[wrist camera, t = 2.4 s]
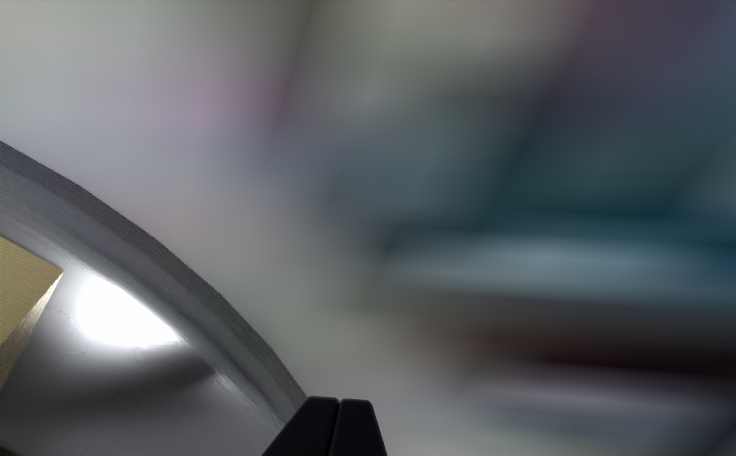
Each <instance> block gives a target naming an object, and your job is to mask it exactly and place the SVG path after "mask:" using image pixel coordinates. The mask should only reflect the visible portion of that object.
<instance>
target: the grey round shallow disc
mask: <svg viewBox="0 0 736 456" xmlns="http://www.w3.org/2000/svg"><path fill="white" fill-rule="evenodd" d="M0 236H1V237H3V238H5V239H6V240H8V241H10V242H12V243H14V244H15V245H17V246H19V247H21V248H23V249H25V250H26V251H28V252H30V253H32V254H34V255H35V256H37V257H39V258H41V259H43V260H45V261H46V262H48V263H50V264H52V265H54V266H55V267H57V268H59V269H61V270H63V271H64V272H63V274H62V276H61V278H60V280H59V282H58V283H57V285H56V287H55V289H54V291H53V293H52V295H51V297H50V299H49V300H48V302H47V304H46V306H45V308H44V310H43V312H42V314H41V316H40V317H39V319H38V321H37V323H36V325H35V327H34V329H33V331H32V333H31V334H30V336H29V338H28V340H27V342H26V344H25V346H24V348H23V350H22V351H21V353H20V355H19V357H18V359H17V361H16V363H15V365H14V367H13V368H12V370H11V372H10V374H9V376H8V378H7V380H6V382H5V384H4V385H3V387H2V389H1V391H0V456H261V455H262V454H263V452H264V451H265V450H266V449H267V447H268V446H269V445H270V444H271V442H272V441H273V440H274V439H275V437H276V436H277V435H278V434H279V432H280V431H281V430H282V429H283V427H284V426H285V425H286V424H287V422H288V421H289V420H290V419H291V417H292V416H293V415H294V413H295V412H296V411H297V410H298V408H299V407H300V406H301V405H302V403H303V402H304V401H305V400H306V399H307V396H306V395H305V394H304V392H303V391H302V390H301V388H300V387H299V385H298V384H297V383H296V381H295V380H294V379H293V377H292V376H291V375H290V373H289V372H288V370H287V369H286V368H285V366H284V365H283V364H282V362H281V361H280V360H279V358H278V357H277V355H276V354H275V353H274V351H273V350H272V349H271V348H270V346H269V345H268V344H267V343H266V342H265V341H264V340H263V339H262V338H261V337H260V336H259V335H258V334H257V333H256V332H255V331H254V329H253V328H252V327H251V326H250V325H249V324H248V323H247V322H246V321H245V320H244V319H243V318H242V317H241V316H240V315H239V314H238V312H237V311H236V310H235V309H234V308H233V307H232V306H231V305H230V304H229V303H228V302H227V301H226V300H225V299H224V298H223V297H222V295H221V294H219V293H218V292H217V291H216V290H215V289H214V288H212V287H211V286H210V285H209V284H208V283H207V282H205V281H204V280H203V279H202V278H201V277H200V276H198V275H197V274H196V273H195V272H194V271H193V270H191V269H190V268H189V267H188V266H187V265H186V264H184V263H183V262H182V261H181V260H180V259H179V258H177V257H176V256H175V255H174V254H173V253H172V252H170V251H169V250H168V249H167V248H166V247H165V246H163V245H162V244H161V243H160V242H159V241H158V240H156V239H155V238H154V237H152V236H151V235H149V234H148V233H146V232H145V231H144V230H142V229H141V228H139V227H138V226H136V225H135V224H133V223H132V222H131V221H129V220H128V219H126V218H125V217H123V216H122V215H121V214H119V213H118V212H116V211H115V210H113V209H112V208H111V207H109V206H108V205H106V204H105V203H103V202H102V201H101V200H99V199H98V198H96V197H95V196H93V195H92V194H91V193H89V192H88V191H86V190H85V189H83V188H82V187H80V186H79V185H77V184H75V183H74V182H72V181H70V180H68V179H67V178H65V177H63V176H61V175H59V174H58V173H56V172H54V171H52V170H51V169H49V168H47V167H45V166H44V165H42V164H40V163H38V162H37V161H35V160H33V159H31V158H29V157H28V156H26V155H24V154H22V153H21V152H19V151H17V150H15V149H14V148H12V147H10V146H8V145H7V144H5V143H3V142H1V141H0Z"/></svg>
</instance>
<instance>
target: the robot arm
mask: <svg viewBox="0 0 736 456" xmlns="http://www.w3.org/2000/svg"><path fill="white" fill-rule="evenodd" d="M261 456H387V452H386V449H385V446H384V442H383V439H382V436H381V432H380V429H379V426H378V422H377V419H376V416H375V412H374V409H373V406H372V404H371V402H370V401H368V400H359V399H342V400H341V401H340V403H339V400H338V399H336V398H333V397H320V396H311V397H308V398H307V399H306V400H305V401H304V402H303V403H302V405H301V406H300V407H299V408H298V410H297V411H296V412H295V413H294V415H293V416H292V417H291V419H290V420H289V421H288V422H287V424H286V425H285V426H284V427H283V429H282V430H281V431H280V432H279V434H278V435H277V436H276V437H275V439H274V440H273V441H272V442H271V444H270V445H269V446H268V447H267V449H266V450H265V451H264V452H263V454H262V455H261Z"/></svg>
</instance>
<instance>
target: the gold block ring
mask: <svg viewBox="0 0 736 456" xmlns="http://www.w3.org/2000/svg"><path fill="white" fill-rule="evenodd" d="M63 272H64V271H63V270H61V269H59V268H57V267H55V266H54V265H52V264H50V263H48V262H46V261H45V260H43V259H41V258H39V257H37V256H35V255H34V254H32V253H30V252H28V251H26V250H25V249H23V248H21V247H19V246H17V245H15V244H14V243H12V242H10V241H8V240H6V239H5V238H3V237H1V236H0V391H1V389H2V387H3V385H4V384H5V382H6V380H7V378H8V376H9V374H10V372H11V370H12V368H13V367H14V365H15V363H16V361H17V359H18V357H19V355H20V353H21V351H22V350H23V348H24V346H25V344H26V342H27V340H28V338H29V336H30V334H31V333H32V331H33V329H34V327H35V325H36V323H37V321H38V319H39V317H40V316H41V314H42V312H43V310H44V308H45V306H46V304H47V302H48V300H49V299H50V297H51V295H52V293H53V291H54V289H55V287H56V285H57V283H58V282H59V280H60V278H61V276H62V274H63Z"/></svg>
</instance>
